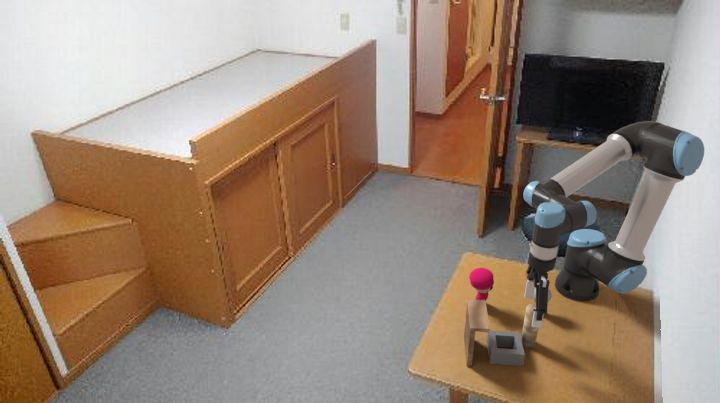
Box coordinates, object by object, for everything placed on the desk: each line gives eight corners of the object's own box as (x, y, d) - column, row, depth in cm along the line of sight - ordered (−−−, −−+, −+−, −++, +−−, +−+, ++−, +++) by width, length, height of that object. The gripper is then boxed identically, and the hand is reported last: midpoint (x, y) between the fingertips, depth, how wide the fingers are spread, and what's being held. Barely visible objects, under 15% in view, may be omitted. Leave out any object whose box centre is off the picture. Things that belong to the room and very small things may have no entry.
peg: (533, 338, 175) (539, 304, 168) (536, 348, 171) (542, 314, 165) (519, 338, 176) (525, 303, 169) (521, 347, 172) (527, 313, 165)
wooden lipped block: (481, 337, 176) (485, 300, 169) (485, 367, 165) (489, 329, 158) (464, 336, 177) (467, 299, 169) (466, 366, 166) (470, 327, 158)
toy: (493, 314, 186) (497, 278, 179) (468, 314, 186) (472, 279, 179) (488, 298, 193) (492, 263, 186) (464, 298, 194) (468, 264, 186)
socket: (518, 342, 174) (519, 332, 172) (522, 365, 165) (524, 354, 163) (486, 341, 175) (488, 330, 173) (489, 363, 166) (491, 352, 164)
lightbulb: (548, 320, 183) (553, 294, 177) (530, 317, 184) (534, 292, 179) (547, 308, 188) (551, 282, 183) (528, 306, 189) (533, 280, 184)
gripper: (522, 230, 168) (514, 286, 178) (537, 279, 146) (526, 339, 156) (547, 231, 167) (537, 287, 178) (566, 280, 146) (553, 340, 156)
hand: (532, 311), depth 167 cm, fingers open, 13 cm apart
